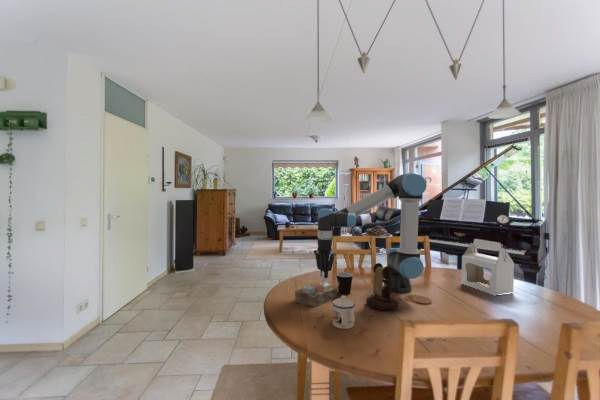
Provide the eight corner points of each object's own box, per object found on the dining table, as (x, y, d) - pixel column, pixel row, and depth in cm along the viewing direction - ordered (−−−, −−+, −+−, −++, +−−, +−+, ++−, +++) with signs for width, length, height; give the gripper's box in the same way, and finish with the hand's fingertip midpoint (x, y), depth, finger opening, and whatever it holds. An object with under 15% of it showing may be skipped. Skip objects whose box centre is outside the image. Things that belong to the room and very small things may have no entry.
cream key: (323, 291, 153) (323, 282, 153) (329, 293, 150) (330, 284, 150) (318, 293, 150) (318, 284, 150) (324, 295, 147) (324, 286, 147)
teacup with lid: (327, 321, 120) (328, 293, 120) (346, 318, 123) (346, 291, 123) (343, 334, 109) (344, 304, 109) (363, 330, 113) (363, 300, 112)
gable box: (513, 294, 158) (515, 243, 157) (496, 296, 153) (497, 244, 153) (477, 282, 179) (478, 237, 178) (460, 284, 174) (461, 238, 174)
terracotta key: (316, 292, 149) (316, 282, 148) (322, 294, 146) (323, 284, 145) (310, 294, 145) (310, 284, 145) (317, 296, 142) (317, 286, 142)
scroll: (360, 302, 141) (360, 262, 141) (384, 299, 147) (384, 260, 147) (379, 314, 128) (380, 269, 128) (405, 309, 134) (406, 266, 133)
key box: (319, 292, 156) (319, 282, 156) (337, 297, 148) (337, 287, 148) (295, 301, 142) (295, 290, 142) (313, 307, 134) (313, 296, 134)
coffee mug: (352, 296, 150) (352, 277, 150) (335, 295, 152) (335, 276, 152) (352, 289, 162) (353, 271, 161) (337, 288, 163) (337, 270, 163)
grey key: (308, 295, 144) (308, 285, 144) (315, 297, 141) (315, 287, 141) (302, 297, 141) (302, 287, 141) (309, 299, 138) (309, 289, 138)
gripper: (310, 237, 151) (309, 282, 151) (330, 240, 142) (329, 288, 143) (319, 236, 157) (318, 279, 157) (339, 239, 148) (338, 284, 148)
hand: (324, 283), depth 150 cm, fingers closed
